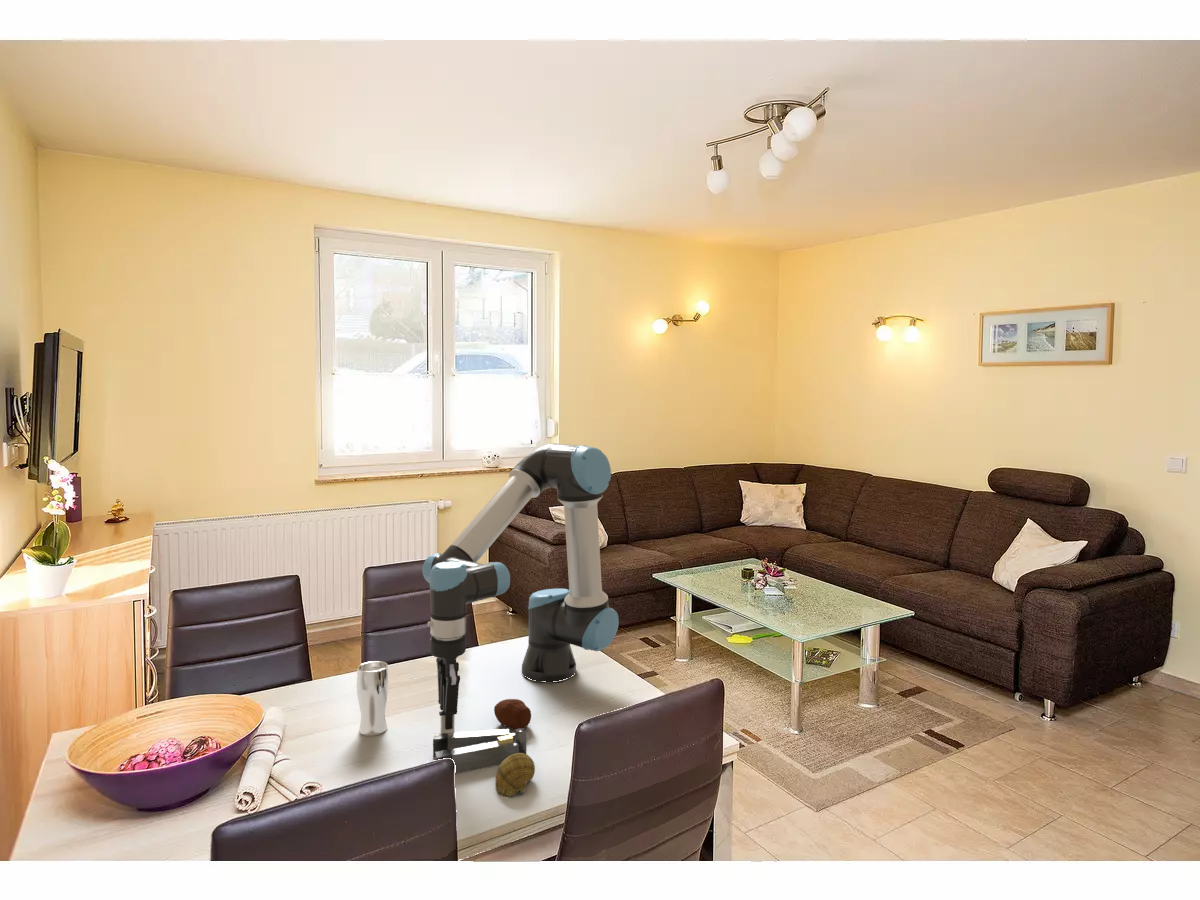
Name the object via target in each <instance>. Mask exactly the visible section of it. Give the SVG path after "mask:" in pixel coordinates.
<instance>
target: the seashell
mask: <svg viewBox="0 0 1200 900" xmlns="http://www.w3.org/2000/svg"><path fill="white" fill-rule="evenodd" d="M535 767H536V766H535V763H534V760H533V759H532V758H531V756H530V755H528V754H527V753H526V754H524V753H516V754H512V755H510V756H509V757H507V758H506V759H505V760H504V761H503V762H502V763H501V764H500V765H498V769H497V772H496V775H495V791H496V792H497V794H498V795H500V796H501V797H504V798H508V799H510V798H512V797H513V796H516V794H517V793H518V792H521V794H524V792H525V791H526V789H527V787H528V786H527V783H528V782H530V781H531V780H532V779H533V777H534V776H535V772H536V768H535Z"/></svg>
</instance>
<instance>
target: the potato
mask: <svg viewBox="0 0 1200 900" xmlns="http://www.w3.org/2000/svg"><path fill="white" fill-rule="evenodd" d="M493 708H494V709H493V712H494V716H495V718H496V720H497V721H498V722H499V724H501V725H502V726H503V727H506V728H507V729H509V730H510V729H511V730H515V731H516V730H517V729H520V728H523V729H526V728H527V727H528V726H529V724H530V723H531V719H532V711H531V709H530V708H529V706H527V705H526V703H525V702H524V701H523V700H521V699H518V698H517V699H516V698H507V699H503V700H499V702H497V703H496V704H495V705H494V707H493Z"/></svg>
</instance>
